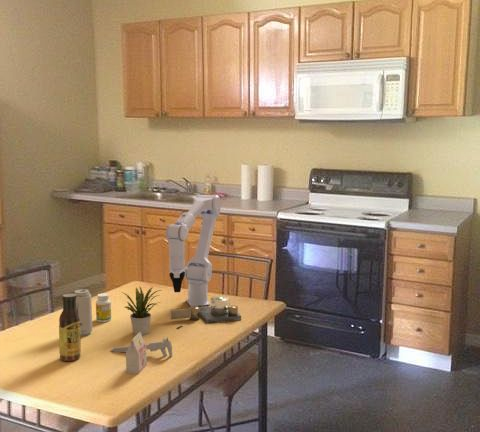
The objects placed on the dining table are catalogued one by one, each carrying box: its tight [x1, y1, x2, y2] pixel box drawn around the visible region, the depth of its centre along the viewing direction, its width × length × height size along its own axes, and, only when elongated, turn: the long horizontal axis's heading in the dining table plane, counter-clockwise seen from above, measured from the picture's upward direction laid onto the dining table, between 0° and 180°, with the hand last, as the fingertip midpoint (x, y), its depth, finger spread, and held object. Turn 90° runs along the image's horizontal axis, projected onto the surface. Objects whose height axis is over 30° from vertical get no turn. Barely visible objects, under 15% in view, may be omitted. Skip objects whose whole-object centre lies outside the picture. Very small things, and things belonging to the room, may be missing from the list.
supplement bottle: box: [95, 292, 112, 323], centre depth 211 cm, size 5×5×10 cm
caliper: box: [109, 337, 173, 358], centre depth 180 cm, size 20×1×6 cm, turn 77°
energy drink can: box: [73, 288, 93, 337], centre depth 197 cm, size 6×6×15 cm
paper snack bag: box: [125, 332, 148, 375], centre depth 168 cm, size 4×7×10 cm, turn 169°
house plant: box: [121, 285, 162, 336], centre depth 197 cm, size 14×14×16 cm
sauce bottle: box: [58, 293, 82, 362], centre depth 175 cm, size 6×6×20 cm
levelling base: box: [176, 295, 242, 330], centre depth 213 cm, size 17×25×7 cm
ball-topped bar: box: [169, 306, 201, 321], centre depth 212 cm, size 11×4×4 cm, turn 108°
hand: (177, 291), depth 216 cm, fingers closed
